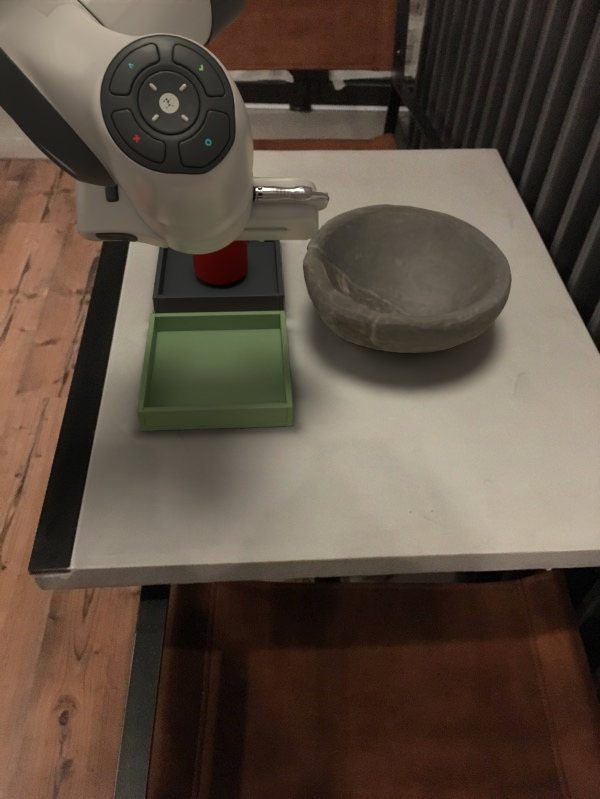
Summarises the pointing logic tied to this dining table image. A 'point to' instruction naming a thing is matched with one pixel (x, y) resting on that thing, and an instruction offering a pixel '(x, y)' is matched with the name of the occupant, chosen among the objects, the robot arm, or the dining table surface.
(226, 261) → the beverage can
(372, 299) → the bowl
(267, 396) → the sage tray
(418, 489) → the dining table surface
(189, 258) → the slate tray
